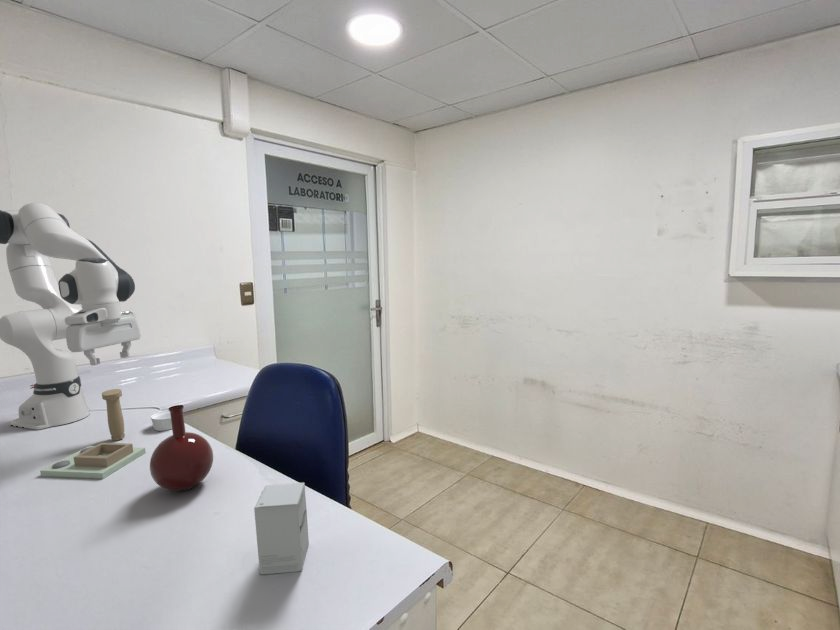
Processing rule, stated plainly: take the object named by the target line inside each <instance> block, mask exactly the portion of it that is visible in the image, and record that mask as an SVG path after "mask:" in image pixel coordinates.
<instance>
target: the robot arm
mask: <svg viewBox="0 0 840 630" xmlns="http://www.w3.org/2000/svg"><path fill="white" fill-rule="evenodd" d="M0 244H1V245H7V244H8V245H7V246H6V247H5V248H6V250H5V254H6V263H7V264H6V265H7V267H8V272H9V275H10V277H11V282H12V285H13V288H14V290H15V291H14V292H15V293H16V295H17V296H18V297H19V298H21V300H24V301H26V302H32V303H34V304H37V305H38V306H40V307H41V308H40V309H32V310H31V309H30V310H22V311H18V312H13V313H12V312H11V313H10V314H5V315H2V316H1V317H0V340H1V341H2V342H4V343H5V344H7V345H9V346H12V347H15V348H16V349H19V350H20V351H21V352H23V354H24V355H26V356H27V357H28V359H29V361H30V363H31V364H32V368H33V373H34V377H35V382H36V383H35V384H31V385H30V388H29V389H33V391H32V392H33V393H32V395H31V396H29V398H27V399H26V400H25V401H24V402H23V403H21V404H20V405H19V407H18V418H16V419H14V420H12V421H11V422H10V425H13V426H12V427H16V426H18V427H17V428H22V427H24V429H29V430H35V431H36V430H43V429H44V430H45V429H48V428H51V427H56V426H62V425H66V424H70V423H73V422H77V421H80V420H82V419H84V418H87V417H88V416H89V415H90V414H91V413H90V406H89V405H87V401H86V398H85V394H84V391H83V389H81V387H82V379H81V376H79V374H78V369H77V368H78V367H77V359H76V357H75V355H74V354H73V353H80V352H81V353H82V352H83V355H84V356H85V357H86V358H87V359H88V360H89V364H90V366H92V367H93V366H97V365H100V364H101V362H100V357H96V356H95V355H94V354H95V353H96V352H95V350H96V349H100V348H101V349H102V348H105V347H109V346H114V345H115V346H116V345H119V344H120V345H121V347H122V351H120V352H119V356H120V358H121V359H124V358H129V357H130V349H131V347H132V342H133V341H138V340H140V338H141V337H142V336H141V335H142V334H141V329H140V325H139V324H138V323H139V322H138V321H137V317H136V315H135V313H133V312H132V311H131V310H125V311H121V304H120V302H122V303H124V302H126V301H128V300H129V299H130V298H131V296H132V295H134V292H135V290H136V285H135V281H134V279H133V277H132V276H131V274H129V273H128V272H127V271H126V270H124V269H123V268H121V267H120V266H118V265H117V264H116V262H114V261H113V259H111V258H110V257H109V256H108V255H107V254H106V253H105V252H104V251H103V250H102V249H101V248H100V247H99V246H98V245H97V244H96V243H94V242H93V241H92V240H90V239H88V238H85V237H83V236H82V235H80V234H79V233H77V232H75V230H73V229H71V227H70V223H69V220H68V218H67V217H66V216H65V215H63V214H61V213H57V212H56V211H55V210H54V209H53V208H52V207H50V206H49V205H47V204H44V203H40V202H31V203H26V204H24V205H23V206H22V207H20V209H19V210H2V209H0ZM49 258H53V259H63V260H70V261H76V262H75V268H74V269H73V270H72V271H71V272H69V273H65V274H63V275H62V277H60V279H59V280H57V277H56V275H55V272H54V269H53V266H52V263H51V261H50V259H49ZM64 339H65V340H66V347H67V350H69V351H67V350H63V349H58V348H55V347H54V345H53V343H52V342H53V341H56V340H57V341H58V340H64Z"/></svg>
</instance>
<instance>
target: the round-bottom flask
mask: <svg viewBox="0 0 840 630" xmlns="http://www.w3.org/2000/svg"><path fill="white" fill-rule="evenodd" d="M184 407H185V406H184V405H183V404H176V405H172V406H170V407H168V410H169V411H170V415H171V423H172V429H171V430H172V431H171V432H172V435H170V436H168V437H166V438H164V439H163V440H162V441H160V443H159V444H158V445H157V446H156V448H154V450H153V452H152V455H151V457H150V460H149V472H150V475H151V477H152V480H153V481H154V482H155V484H156V485H158V487H160V488H162V489H164V490H165V491H166V490H167V491H170V492H182V491H187V490H191V489H192V488H194V487H196V486H198V485H199V484H200V483H202V481H204V480H205V478H206V477H208V475H209V473H210V471H211V470H212V466H213V463H214V452H213V447H212V446H211V444H210V443H209V441H208V440H207V439H206V438H205V437H203V436H202V435H200V434H197V433H195V432H189V431H187V432H186V426H185V416H184Z"/></svg>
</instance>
